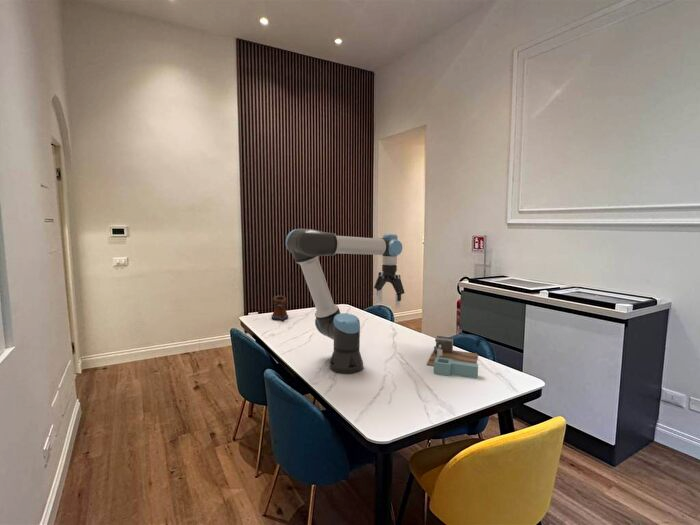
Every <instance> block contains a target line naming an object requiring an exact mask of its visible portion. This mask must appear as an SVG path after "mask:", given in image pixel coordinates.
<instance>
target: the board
mask: <svg viewBox="0 0 700 525" xmlns="http://www.w3.org/2000/svg"><path fill="white" fill-rule="evenodd" d="M436 357H437V354H434V350H433V351H432V353H431V355H430V357H429V359H428V361H427V362H426V366H431V367H434V361H435V359H436ZM442 358H447V359H452V361H458V362H466V363H473V364H477V360H478V353H477V352H468V351H460V350H455V349H453V351H452V353H451V352H443V351H442Z"/></svg>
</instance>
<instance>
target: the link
mask: <svg viewBox="0 0 700 525" xmlns="http://www.w3.org/2000/svg"><path fill="white" fill-rule="evenodd" d="M433 374H436V375H440V376H441V375H442V376H447V377H451V375H453V376H459V377H466V378H471V379H478V376H479V375H478V374H479V363H476V364H473V363H466V362H458V361H452V359H447V358H439V357H436V359H435V361H434V366H433Z"/></svg>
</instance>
